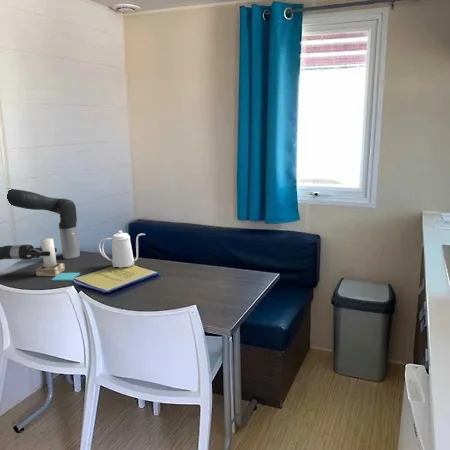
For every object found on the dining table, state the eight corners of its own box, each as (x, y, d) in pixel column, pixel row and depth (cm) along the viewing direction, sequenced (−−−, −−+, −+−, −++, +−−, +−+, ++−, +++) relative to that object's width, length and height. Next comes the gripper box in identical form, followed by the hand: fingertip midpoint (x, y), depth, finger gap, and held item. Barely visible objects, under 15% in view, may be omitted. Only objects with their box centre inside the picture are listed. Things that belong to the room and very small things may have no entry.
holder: (46, 269, 235) (46, 263, 235) (65, 269, 234) (64, 263, 233) (36, 276, 226) (35, 269, 225) (55, 276, 224) (54, 269, 224)
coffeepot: (145, 268, 229) (141, 232, 225) (97, 269, 232) (93, 233, 228) (150, 262, 240) (147, 227, 236) (105, 263, 243) (101, 228, 239)
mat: (61, 274, 227) (61, 272, 227) (80, 273, 226) (79, 272, 226) (51, 280, 217) (51, 279, 217) (71, 280, 216) (70, 279, 216)
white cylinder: (48, 268, 233) (44, 238, 230) (59, 268, 232) (55, 237, 229) (42, 271, 227) (38, 241, 224) (53, 271, 227) (49, 241, 223)
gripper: (12, 248, 222) (44, 248, 220) (28, 241, 236) (59, 240, 234) (15, 263, 224) (47, 263, 221) (30, 255, 237) (61, 254, 235)
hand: (53, 251), depth 227 cm, fingers closed on white cylinder, 6 cm apart
